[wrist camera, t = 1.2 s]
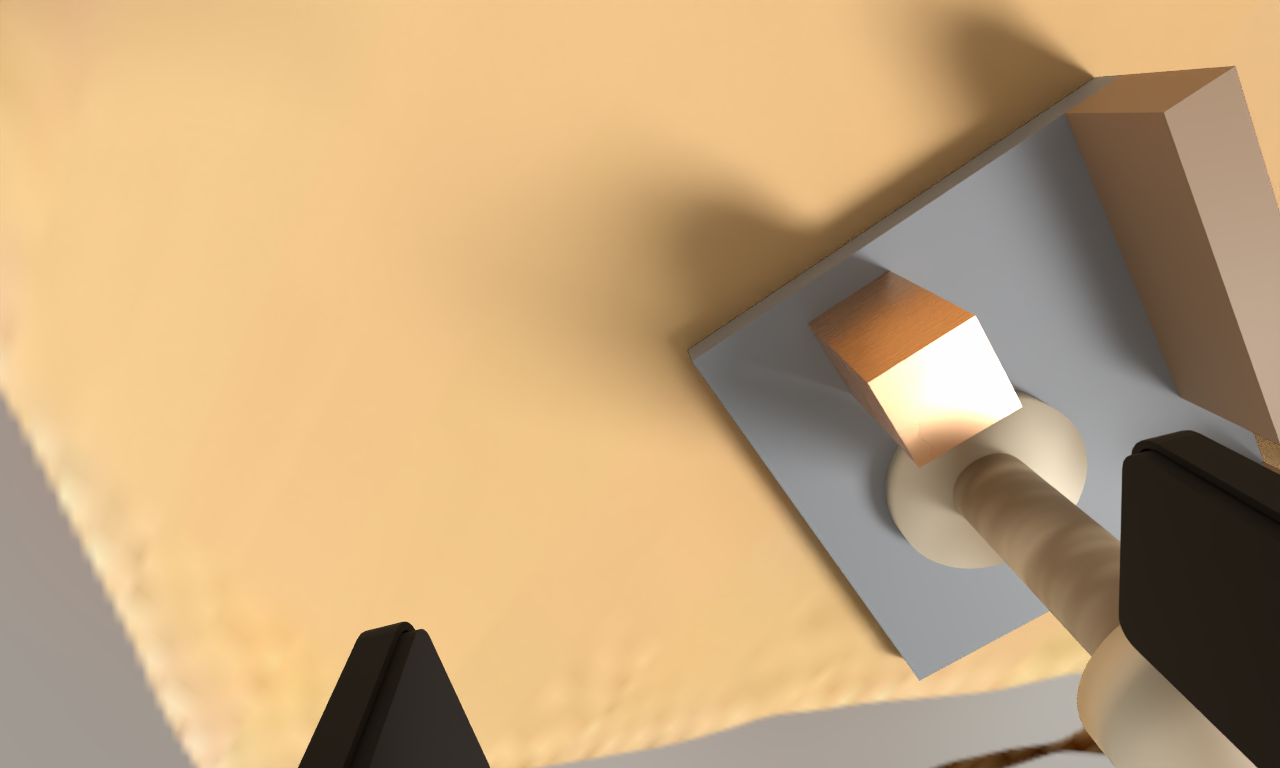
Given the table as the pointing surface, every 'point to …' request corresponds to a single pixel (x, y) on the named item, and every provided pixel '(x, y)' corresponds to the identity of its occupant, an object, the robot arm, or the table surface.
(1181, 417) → the grey board with ledge
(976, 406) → the copper block
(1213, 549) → the robot arm
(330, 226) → the table surface
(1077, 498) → the bobbin
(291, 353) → the table surface
